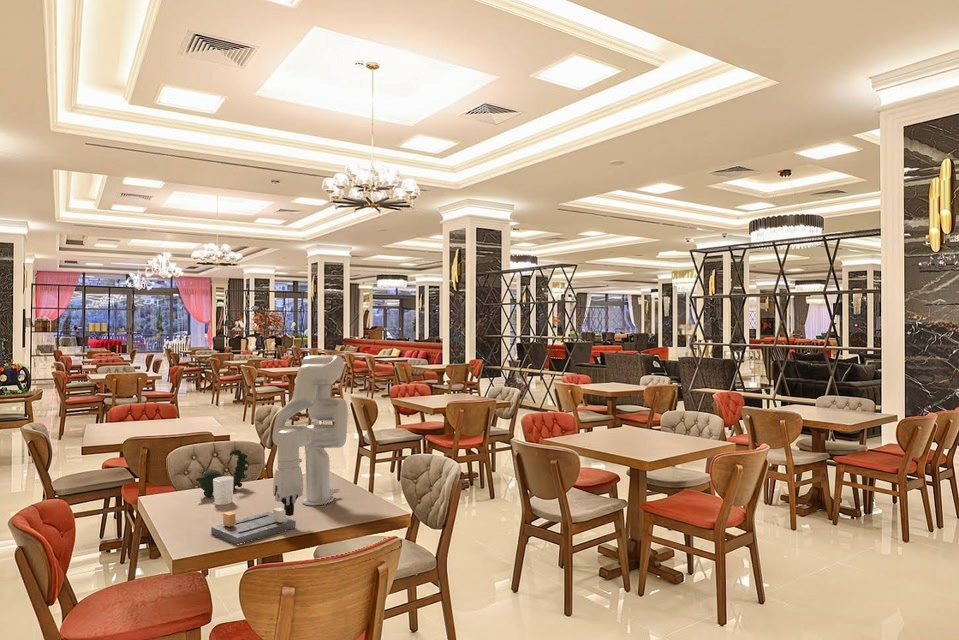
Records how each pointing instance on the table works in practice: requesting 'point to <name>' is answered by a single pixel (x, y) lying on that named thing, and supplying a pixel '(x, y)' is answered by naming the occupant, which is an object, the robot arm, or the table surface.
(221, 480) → the white cup
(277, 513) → the fader
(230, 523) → the fader
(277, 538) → the table surface
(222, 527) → the console
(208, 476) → the toy figurine
